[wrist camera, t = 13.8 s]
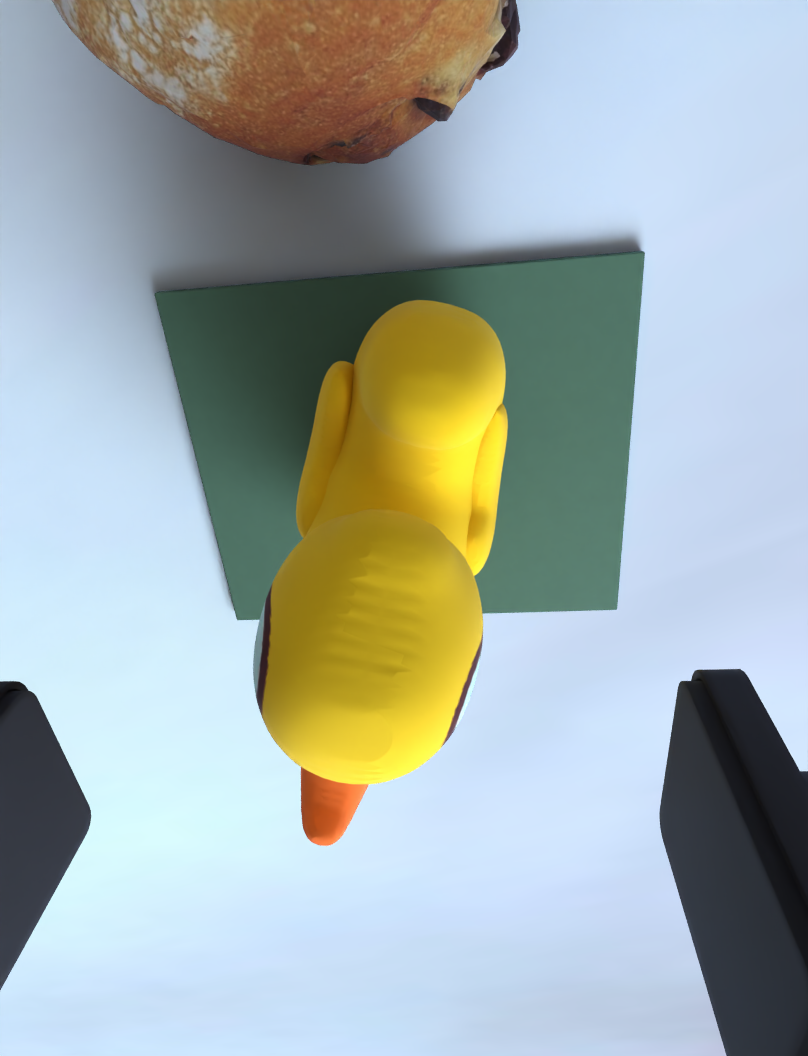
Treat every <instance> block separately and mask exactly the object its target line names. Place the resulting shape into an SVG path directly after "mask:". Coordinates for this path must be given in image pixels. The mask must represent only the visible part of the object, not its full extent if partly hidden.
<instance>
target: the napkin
mask: <svg viewBox="0 0 808 1056" xmlns="http://www.w3.org/2000/svg"><path fill="white" fill-rule="evenodd" d="M644 255H645V253H644V252H643V251H634V252H623V253H611V254H599V255H587V256H575V257H563V258H551V259H539V260H528V261H516V262H504V263H492V264H480V265H468V266H456V267H444V268H432V269H421V270H409V271H397V272H385V273H373V274H361V275H349V276H337V277H326V278H314V279H302V280H290V281H278V282H266V283H254V284H242V285H231V286H219V287H207V288H195V289H183V290H171V291H159V292H156V293H155V298H156V302H157V306H158V310H159V314H160V318H161V322H162V326H163V330H164V334H165V338H166V342H167V346H168V349H169V353H170V357H171V361H172V365H173V369H174V373H175V377H176V381H177V385H178V389H179V393H180V397H181V401H182V405H183V409H184V413H185V416H186V420H187V424H188V428H189V432H190V436H191V440H192V444H193V448H194V452H195V456H196V460H197V464H198V468H199V472H200V476H201V479H202V483H203V487H204V491H205V495H206V499H207V503H208V507H209V511H210V515H211V519H212V523H213V527H214V531H215V535H216V539H217V543H218V546H219V550H220V554H221V558H222V562H223V566H224V570H225V574H226V578H227V582H228V586H229V590H230V594H231V598H232V602H233V606H234V610H235V613H236V617H237V620H260V617H261V613H262V610H263V607H264V604H265V600H266V598H267V595H268V592H269V590H270V587H271V585H272V583H273V581H274V579H275V577H276V575H277V573H278V571H279V569H280V567H281V566H282V564H283V563H284V561H285V560H286V558H287V557H288V555H289V554H290V553H291V552H292V550H293V549H294V548H295V547H296V546H297V545H298V544H299V542H300V541H301V540H302V539H303V537H302V536H301V534H300V532H299V530H298V526H297V520H296V505H297V496H298V490H299V485H300V480H301V476H302V472H303V468H304V464H305V461H306V456H307V452H308V447H309V443H310V438H311V434H312V429H313V425H314V419H315V413H316V408H317V403H318V398H319V394H320V390H321V387H322V383H323V380H324V378H325V375H326V373H327V372H328V370H329V368H330V367H331V366H332V365H333V364H334V363H336V362H338V361H346V362H349V363H351V364H353V365H354V362H355V359H356V356H357V353H358V351H359V348H360V346H361V344H362V342H363V340H364V338H365V336H366V334H367V333H368V331H369V330H370V328H371V327H372V326H373V325H374V323H375V322H376V321H377V320H378V319H379V318H380V317H381V316H382V315H384V314H385V313H386V312H387V311H389V310H390V309H392V308H393V307H395V306H397V305H399V304H402V303H405V302H408V301H414V300H429V301H436V302H441V303H446V304H450V305H453V306H457V307H460V308H463V309H466V310H468V311H470V312H473V313H474V314H476V315H478V316H479V317H481V318H482V319H483V320H485V321H486V322H487V323H488V324H489V325H490V327H491V328H492V329H493V330H494V332H495V333H496V335H497V337H498V339H499V341H500V344H501V347H502V350H503V355H504V360H505V369H506V381H505V390H504V397H503V402H502V403H503V405H504V406H505V409H506V412H507V419H508V430H507V441H506V448H505V455H504V461H503V467H502V473H501V481H500V489H499V497H498V505H497V515H496V524H495V531H494V536H493V541H492V545H491V549H490V552H489V555H488V558H487V560H486V562H485V564H484V566H483V567H482V569H481V570H480V571H479V573H477V574H476V575H475V576H474V578H475V581H476V584H477V587H478V591H479V596H480V600H481V606H482V613H514V612H551V611H587V610H617V602H618V589H619V576H620V563H621V551H622V538H623V525H624V512H625V499H626V486H627V474H628V461H629V448H630V435H631V422H632V409H633V397H634V384H635V371H636V358H637V345H638V332H639V320H640V307H641V294H642V281H643V268H644Z"/></svg>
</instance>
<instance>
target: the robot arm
mask: <svg viewBox="0 0 808 1056" xmlns="http://www.w3.org/2000/svg"><path fill="white" fill-rule="evenodd" d="M90 821H91V810H90V807H89V805H88V803H87V800H86V798H85V796H84V794H83V792H82V790H81V788H80V786H79V784H78V782H77V780H76V778H75V776H74V773H73V771H72V769H71V767H70V765H69V763H68V761H67V759H66V757H65V755H64V753H63V751H62V749H61V747H60V744H59V742H58V740H57V738H56V736H55V734H54V732H53V730H52V728H51V726H50V724H49V722H48V720H47V717H46V715H45V713H44V711H43V709H42V707H41V705H40V703H39V701H38V699H37V697H36V696H35V694H34V693H32V692H31V691H28V689H27V688H26V686H25V685H24V684H22V683H20V682H16V681H4V682H0V990H1V988H2V986H3V984H4V983H5V981H6V979H7V977H8V975H9V973H10V972H11V970H12V968H13V966H14V964H15V963H16V961H17V959H18V957H19V955H20V954H21V952H22V950H23V948H24V946H25V944H26V943H27V941H28V939H29V937H30V935H31V934H32V932H33V930H34V928H35V926H36V925H37V923H38V921H39V919H40V917H41V915H42V914H43V912H44V910H45V908H46V906H47V905H48V903H49V901H50V899H51V897H52V896H53V894H54V892H55V890H56V888H57V886H58V885H59V883H60V881H61V879H62V877H63V876H64V874H65V872H66V870H67V868H68V867H69V865H70V863H71V861H72V859H73V857H74V856H75V854H76V852H77V850H78V848H79V847H80V845H81V843H82V841H83V839H84V838H85V836H86V834H87V831H88V829H89V826H90ZM660 828H661V833H662V838H663V841H664V845H665V848H666V852H667V855H668V858H669V862H670V865H671V869H672V872H673V875H674V879H675V882H676V886H677V889H678V892H679V896H680V899H681V902H682V906H683V909H684V913H685V916H686V919H687V923H688V926H689V930H690V933H691V936H692V940H693V943H694V947H695V950H696V953H697V957H698V960H699V963H700V967H701V970H702V974H703V977H704V980H705V984H706V987H707V991H708V994H709V997H710V1001H711V1004H712V1008H713V1011H714V1014H715V1018H716V1021H717V1024H718V1028H719V1031H720V1035H721V1038H722V1041H723V1045H724V1048H725V1052H726V1055H727V1056H808V771H799V769H798V767H797V765H796V763H795V762H794V760H793V758H792V756H791V754H790V753H789V751H788V749H787V747H786V745H785V743H784V742H783V740H782V738H781V736H780V734H779V733H778V731H777V729H776V727H775V725H774V723H773V722H772V720H771V718H770V716H769V714H768V713H767V711H766V709H765V707H764V705H763V703H762V702H761V700H760V698H759V696H758V694H757V693H756V691H755V689H754V687H753V685H752V683H751V682H750V680H749V678H748V676H747V675H746V674H745V672H744V671H742V670H741V669H723V670H695V672H694V673H693V676H692V680H691V681H681V682H680V683H679V687H678V692H677V699H676V705H675V712H674V719H673V725H672V732H671V739H670V745H669V752H668V759H667V765H666V772H665V779H664V785H663V792H662V799H661V805H660Z"/></svg>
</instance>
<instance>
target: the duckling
mask: <svg viewBox="0 0 808 1056" xmlns="http://www.w3.org/2000/svg"><path fill="white" fill-rule="evenodd" d="M505 381H506V369H505V360H504V355H503V350H502V347H501V344H500V341H499V339H498V337H497V335H496V333H495V332H494V330H493V329H492V328H491V327H490V325H489V324H488V323H487V322H486V321H485V320H483V319H482V318H481V317H479V316H478V315H476V314H474V313H473V312H470V311H468V310H466V309H463V308H460V307H457V306H453V305H450V304H446V303H441V302H436V301H429V300H414V301H408V302H405V303H402V304H399V305H397V306H395V307H393V308H392V309H390V310H389V311H387V312H386V313H385V314H384V315H382V316H381V317H380V318H379V319H378V320H377V321H376V322H375V323H374V325H373V326H372V327H371V328H370V330H369V331H368V333H367V334H366V336H365V338H364V340H363V342H362V344H361V346H360V348H359V351H358V353H357V356H356V359H355V362H354V365H353V364H351V363H349V362H346V361H338V362H336V363H334V364H333V365H332V366H331V367H330V368H329V370H328V372H327V373H326V375H325V378H324V380H323V383H322V387H321V390H320V394H319V398H318V403H317V408H316V413H315V419H314V425H313V429H312V434H311V438H310V443H309V447H308V452H307V456H306V461H305V464H304V468H303V472H302V476H301V480H300V485H299V490H298V496H297V505H296V520H297V526H298V530H299V532H300V534H301V536H302V537H303V539H302V540H301V541H300V542H299V544H298V545H297V546H296V547H295V548H294V549H293V550H292V552H291V553H290V554H289V555H288V557H287V558H286V560H285V561H284V563H283V564H282V566H281V567H280V569H279V571H278V573H277V575H276V577H275V579H274V581H273V583H272V585H271V587H270V590H269V592H268V595H267V598H266V600H265V604H264V607H263V610H262V613H261V617H260V621H259V625H258V630H257V635H256V641H255V649H254V661H253V676H254V687H255V693H256V698H257V703H258V706H259V709H260V712H261V715H262V718H263V720H264V723H265V725H266V727H267V729H268V731H269V733H270V734H271V736H272V738H273V739H274V741H275V742H276V743H277V745H278V746H279V747H280V748H281V749H282V750H283V751H284V752H285V753H286V754H287V756H288V757H289V758H290V759H292V760H293V761H294V762H295V763H296V764H298V765H299V766H301V812H302V823H303V829H304V832H305V834H306V836H307V837H308V839H309V840H310V841H311V842H313V843H315V844H318V845H322V846H328V845H331V844H333V843H335V842H336V841H337V840H338V839H339V838H340V837H341V836H342V835H343V833H344V832H345V830H346V828H347V826H348V825H349V823H350V821H351V819H352V817H353V815H354V813H355V811H356V809H357V807H358V805H359V803H360V801H361V799H362V797H363V795H364V793H365V791H366V789H367V787H368V785H369V784H375V783H381V782H385V781H389V780H392V779H395V778H398V777H400V776H403V775H405V774H407V773H410V772H411V771H413V770H415V769H416V768H418V767H419V766H421V765H422V764H424V763H425V762H426V761H427V760H429V759H430V758H431V757H432V756H433V755H434V754H435V753H436V752H437V751H438V750H439V749H440V748H441V747H442V746H443V745H444V744H445V742H446V741H447V740H448V738H449V737H450V736H451V734H452V733H453V731H454V730H455V728H456V727H457V725H458V723H459V721H460V720H461V718H462V716H463V714H464V711H465V709H466V707H467V704H468V702H469V699H470V696H471V693H472V690H473V687H474V684H475V680H476V676H477V672H478V668H479V662H480V656H481V649H482V638H483V616H482V606H481V600H480V596H479V591H478V587H477V584H476V581H475V578H474V576H475V575H476V574H477V573H479V571H480V570H481V569H482V567H483V566H484V564H485V562H486V560H487V558H488V555H489V552H490V549H491V545H492V541H493V536H494V531H495V524H496V515H497V505H498V497H499V489H500V481H501V473H502V467H503V461H504V455H505V448H506V441H507V430H508V419H507V412H506V409H505V406H504V405H503V403H502V402H503V397H504V390H505Z"/></svg>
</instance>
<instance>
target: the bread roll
mask: <svg viewBox="0 0 808 1056" xmlns="http://www.w3.org/2000/svg"><path fill="white" fill-rule="evenodd" d="M52 1H53V3H54V5H55V7H56V8H57V10H58V12H59V13H60V15H61V17H62V18H63V20H64V21H65V22H66V24H67V25H68V26H69V28H70V29H71V30H72V32H73V33H74V34H75V35H76V36H77V37H78V38H79V39H80V40H81V41H82V43H83V44H84V45H85V46H86V47H87V48H88V49H89V50H90V51H91V52H92V53H93V54H94V55H95V56H96V57H97V58H98V59H99V60H100V61H102V62H103V63H104V64H105V65H107V66H108V67H109V68H110V69H112V70H113V71H114V72H116V73H117V74H118V75H120V76H121V77H122V78H123V79H125V80H126V81H127V82H129V83H130V84H131V85H133V86H134V87H135V88H136V89H137V90H139V91H140V92H141V93H142V94H144V95H145V96H146V97H148V98H149V99H151V100H152V101H154V102H155V103H157V104H161V105H165V106H166V107H167V108H169V109H170V110H171V111H172V112H174V113H175V114H177V115H178V116H180V117H182V118H183V119H185V120H187V121H188V122H190V123H192V124H193V125H195V126H196V127H198V128H200V129H201V130H203V131H205V132H206V133H208V134H210V135H211V136H213V137H214V138H217V139H220V140H223V141H226V142H228V143H231V144H234V145H236V146H239V147H242V148H244V149H247V150H249V151H252V152H254V153H256V154H259V155H263V156H266V157H270V158H274V159H279V160H284V161H288V162H292V163H297V164H304V165H317V164H326V163H331V162H337V163H355V164H364V163H369V162H371V161H373V160H376V159H380V158H384V157H388V156H389V155H390V154H391V152H392V151H393V150H394V149H396V148H397V147H399V146H400V145H402V144H403V143H405V142H406V141H408V140H409V139H411V138H412V137H414V136H415V135H417V134H418V133H420V132H421V131H422V130H424V129H425V128H427V127H428V126H430V125H431V124H432V123H434V122H435V121H436V120H437V121H447V120H448V118H449V117H450V115H451V114H452V112H453V110H454V109H455V107H456V104H457V103H458V102H459V101H460V100H461V99H462V98H463V97H464V96H465V95H466V94H467V93H468V92H469V91H470V90H471V88H472V85H473V83H474V81H475V79H479V80H481V79H482V77H483V76H484V74H485V73H486V72H488V71H490V70H492V69H495V68H498V67H500V66H503V65H504V64H505V63H506V62H507V61H508V60H509V59H510V58H511V56H512V55H513V54H514V53H515V51H516V50H517V48H518V34H519V32H520V25H519V17H518V10H517V5H516V0H52Z"/></svg>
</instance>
